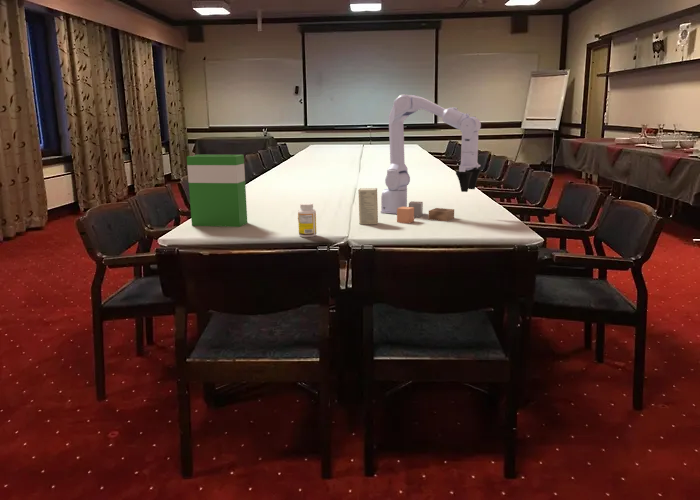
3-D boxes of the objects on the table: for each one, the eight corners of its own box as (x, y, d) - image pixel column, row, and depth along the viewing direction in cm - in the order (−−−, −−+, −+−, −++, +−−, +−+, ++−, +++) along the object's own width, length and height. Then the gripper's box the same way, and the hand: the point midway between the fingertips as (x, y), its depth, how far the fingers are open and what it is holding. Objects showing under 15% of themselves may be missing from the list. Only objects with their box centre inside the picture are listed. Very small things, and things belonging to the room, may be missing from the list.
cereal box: (191, 225, 201) (186, 156, 195) (201, 221, 208) (196, 154, 202) (239, 226, 197) (235, 156, 192) (247, 222, 205) (243, 154, 199)
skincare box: (378, 222, 202) (378, 187, 199) (376, 224, 198) (376, 189, 195) (360, 222, 203) (360, 187, 200) (358, 224, 199) (358, 189, 196)
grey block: (408, 216, 213) (408, 203, 212) (410, 214, 218) (410, 201, 216) (420, 216, 212) (420, 203, 211) (422, 214, 216) (422, 201, 215)
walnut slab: (428, 220, 207) (428, 210, 206) (436, 217, 212) (436, 207, 212) (446, 221, 203) (447, 212, 202) (454, 218, 209) (454, 209, 208)
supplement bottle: (307, 233, 185) (306, 201, 183) (320, 235, 182) (319, 203, 179) (295, 236, 181) (293, 204, 179) (307, 238, 178) (306, 205, 175)
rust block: (396, 222, 202) (397, 208, 201) (402, 220, 206) (402, 206, 205) (408, 223, 200) (408, 209, 199) (414, 221, 204) (414, 207, 203)
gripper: (473, 153, 194) (472, 193, 197) (487, 150, 206) (485, 188, 210) (453, 153, 198) (452, 192, 201) (468, 150, 210) (466, 187, 213)
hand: (468, 190), depth 206 cm, fingers open, 7 cm apart
